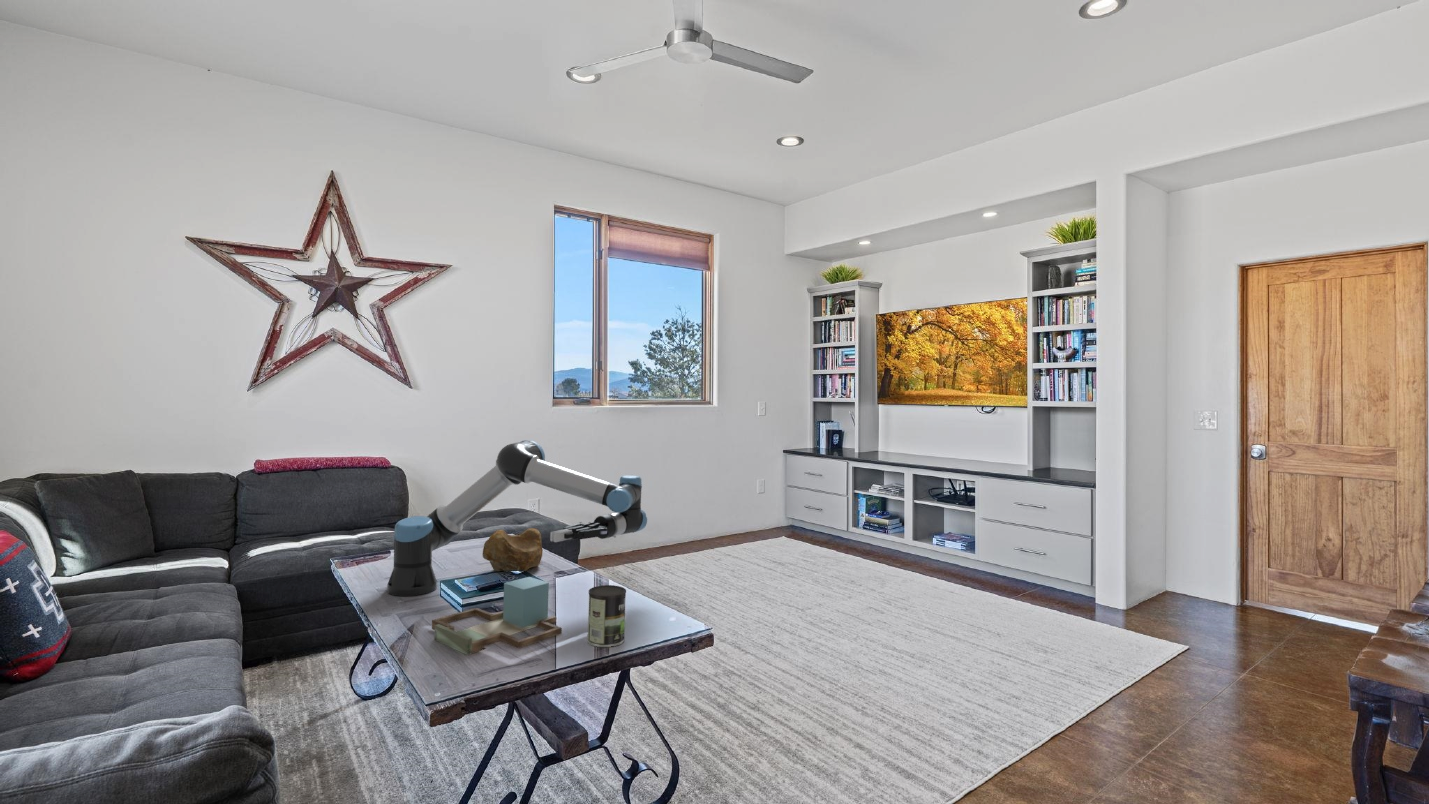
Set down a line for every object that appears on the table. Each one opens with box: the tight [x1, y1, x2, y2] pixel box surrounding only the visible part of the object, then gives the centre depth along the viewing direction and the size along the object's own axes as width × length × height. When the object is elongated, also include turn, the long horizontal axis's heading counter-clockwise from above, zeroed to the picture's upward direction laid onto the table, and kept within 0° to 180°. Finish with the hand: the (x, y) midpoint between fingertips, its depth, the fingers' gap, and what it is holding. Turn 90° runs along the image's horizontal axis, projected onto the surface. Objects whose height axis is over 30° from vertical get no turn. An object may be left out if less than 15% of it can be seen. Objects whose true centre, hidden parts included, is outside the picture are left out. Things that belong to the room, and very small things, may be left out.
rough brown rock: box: [482, 527, 543, 572], centre depth 255 cm, size 23×17×15 cm
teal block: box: [502, 576, 550, 628], centre depth 200 cm, size 9×9×11 cm
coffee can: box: [587, 584, 627, 648], centre depth 189 cm, size 10×10×14 cm
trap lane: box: [431, 607, 563, 656], centre depth 192 cm, size 29×31×4 cm
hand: (553, 537), depth 207 cm, fingers closed
